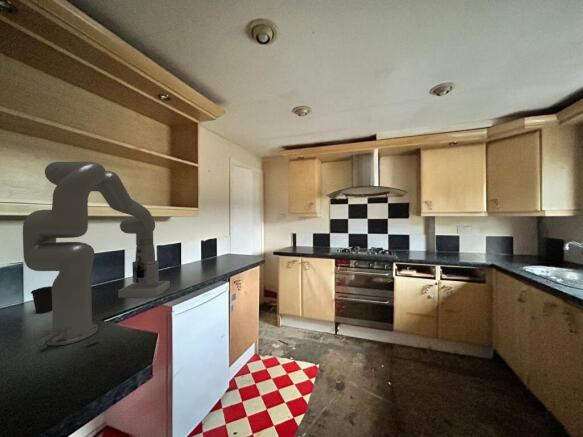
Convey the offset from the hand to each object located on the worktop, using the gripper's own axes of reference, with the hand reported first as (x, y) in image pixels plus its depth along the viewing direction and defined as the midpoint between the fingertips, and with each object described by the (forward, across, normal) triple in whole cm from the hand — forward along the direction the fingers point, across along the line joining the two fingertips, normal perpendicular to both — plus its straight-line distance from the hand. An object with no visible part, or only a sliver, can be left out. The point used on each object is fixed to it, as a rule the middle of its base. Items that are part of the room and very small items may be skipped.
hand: (145, 275), depth 118 cm
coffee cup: (+10, -20, +30) cm, 37 cm away
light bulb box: (+4, 0, 0) cm, 4 cm away
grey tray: (+9, 0, 0) cm, 9 cm away
